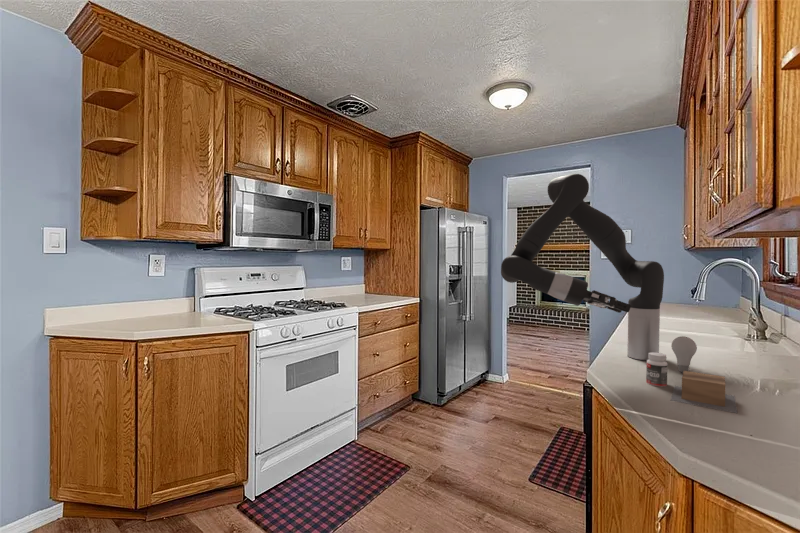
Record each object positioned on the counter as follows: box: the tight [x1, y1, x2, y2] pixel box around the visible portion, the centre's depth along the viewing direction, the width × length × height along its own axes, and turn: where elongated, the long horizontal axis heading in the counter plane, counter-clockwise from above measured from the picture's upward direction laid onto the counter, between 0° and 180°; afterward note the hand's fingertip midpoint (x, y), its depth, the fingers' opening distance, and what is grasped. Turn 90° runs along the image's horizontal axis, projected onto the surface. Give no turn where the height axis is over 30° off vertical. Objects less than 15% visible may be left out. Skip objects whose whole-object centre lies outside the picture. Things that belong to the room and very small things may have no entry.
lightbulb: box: [671, 335, 698, 374], centre depth 116 cm, size 6×6×11 cm
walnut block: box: [681, 370, 726, 407], centre depth 94 cm, size 8×8×5 cm
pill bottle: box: [645, 352, 669, 387], centre depth 105 cm, size 5×5×8 cm
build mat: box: [670, 385, 738, 414], centre depth 94 cm, size 14×12×1 cm
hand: (625, 309), depth 110 cm, fingers open, 8 cm apart
